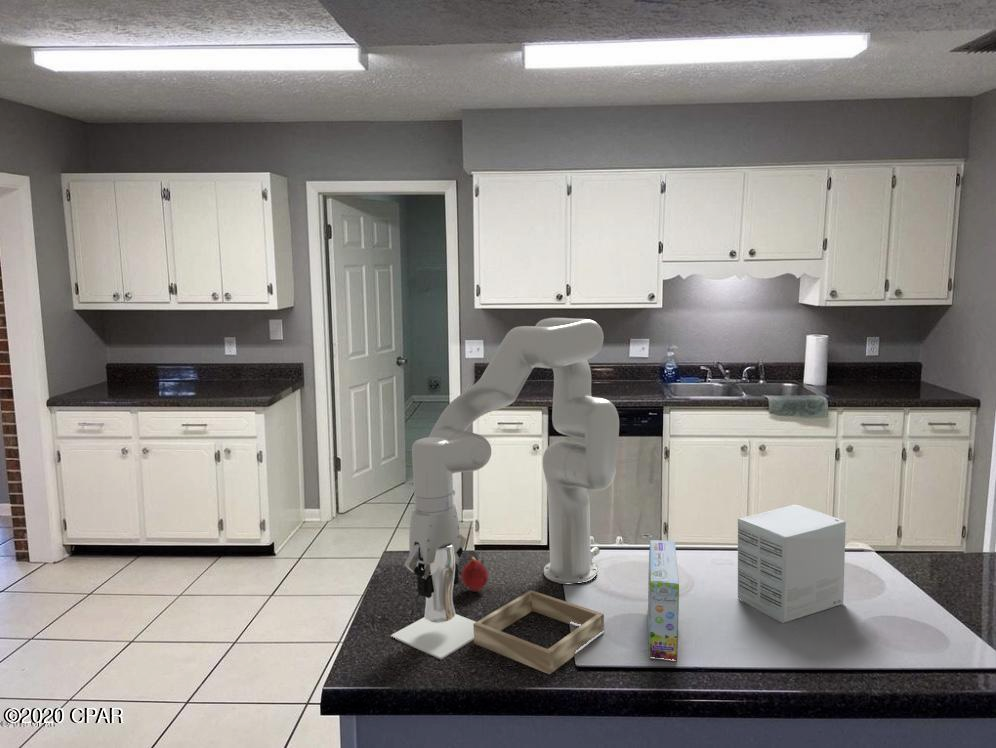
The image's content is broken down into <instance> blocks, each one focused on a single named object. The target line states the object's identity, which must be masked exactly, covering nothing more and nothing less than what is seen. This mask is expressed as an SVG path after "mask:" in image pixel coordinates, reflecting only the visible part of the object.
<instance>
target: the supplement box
mask: <svg viewBox="0 0 996 748" xmlns="http://www.w3.org/2000/svg"><path fill="white" fill-rule="evenodd" d="M846 525H847V523H846V521H845V520H843V519H841V518H837V517H834V516H832V515H829V514H825V513H824V512H820V511H818V510H814V509H811V508H808V507H805V506H803V505H800V504H797V503H793V504H790V505H788V506H784V507H780V508H775V509H772V510H767V511H764V512H760V513H757V514H751V515H748V516H743V517H740V518H737V599H738V598H739V599H741V600H742V601H744V602H745V604H746V603H747V604H746V605H748V604H749V605H748V606H750V605H751V606H750V607H752V606H753V607H754V608H753V607H752V608H753V609H755V608H756V610H757V611H759V612H761V613H763V614H765V615H767V616H768V617H770V618H772V619H774V620H776V621H777V622H779V623H781V624H785V623H787V622H788V623H789V622H790V621H793V620H797V619H800V618H803V617H806V616H810V615H813V614H815V613H816V614H817V613H818V612H822V611H825V610H828V609H833V608H834V607H837V606H840V605H841V606H842V605H843V604H844V590H845V588H844V587H845V586H844V585H845V584H844V583H845V562H846V561H845V558H846V555H845V554H846V551H845V550H846ZM739 599H738V600H739ZM741 600H740V601H741ZM742 601H741V602H742ZM744 602H743V603H744Z"/></svg>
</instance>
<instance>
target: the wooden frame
mask: <svg viewBox="0 0 996 748" xmlns="http://www.w3.org/2000/svg"><path fill="white" fill-rule="evenodd" d="M531 612H534V613H536V614H540V615H542V616H545V617H548V618H551V619H554V620H557V621H560V622H562V623H565V624H567V625H570V624H569V623H570V622H571V621H572V622H574V623H577V624H581V626H580V627H577V628H576V629H574V630H573V631H571V632H570V633H568V634H567V635H566V636H564V637H563V638H561V639H560V640H559V641H557V642H556V643H554V644H553V645H552V646H550V647H548V648H546V647H543V646H541V645H538V644H536V643H532V642H530V641H528V640H525V639H522V638H520V637H517V636H514V635H512V634H509V633H507V632H505V631H503V630H505V629H506V628H508V627H509V626H511V625H512V624H514V623H515V622H517V621H518V620H520V619H521V618H524V617H525V616H527V615H528V614H531ZM604 614H605V613H603V612H599V611H596V610H593V609H589V608H587V607H584V606H581V605H578V604H575V603H571V602H568V601H565V600H562V599H558V597H557V598H556V597H552V596H550V595H547V594H544V593H540V592H538V591H536V590H529V591H526V592H524V593H523V594H521V595H519V596H518V597H517V598H515V599H513V600H511V601H510V602H508V603H506V604H505V605H503V606H500V607H499V608H498V609H496V610H495V611H492V612H491V613H489V614H488V615H485V616H484V617H483V618H481V619H479V620H478V621H475V622H476V623H474V624H473V628H474V640H473V644H475V645H477V646H480V647H482V648H484V649H487V650H489V651H492V652H494V653H497V654H498V655H502V656H504V657H506V658H508V659H512V660H513V661H516V662H517V663H521V664H523V665H525V666H528V667H531V668H534V669H535V670H538V671H540V672H542V673H545V674H548V675H551V674H553V673H554V672H555V671H556V670H558V669H559V668H560V667H562V666H563V665H565V663H567V662H568V661H570V660H571V659H573V657H575V656H574V654H575V652H576V650H578V649H579V648H580V647H581V646H583V645H584V644H586V643H587V642H588V641H589V640H591V639H592V638H594V637H595V636H596V635H598V634H599V633H600V632H602V631H603V630H604V631H605V615H604Z"/></svg>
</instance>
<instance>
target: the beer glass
mask: <svg viewBox="0 0 996 748" xmlns="http://www.w3.org/2000/svg"><path fill="white" fill-rule="evenodd" d="M421 560H423V558H422V557H421ZM424 566H425V565H424V564H422V570H424ZM428 577H429V578H431V590H432V596H431V597H430V598H427V597H425V608H424V617H425V619H426V620H427V621H429V622H433V623H443V622H447V621H450V620H451V619H453V618H454V617H455V614H456V610H455V606H454V599H453V594H454V593H453V591H454V585H455V584H454V578H455V553H454V546H453V543H452V544H451V545H450V546H448V547H446V548H442V549H436V555H435V560H434V562H433V563H432V564H430V572H429V575H428Z"/></svg>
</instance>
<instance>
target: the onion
mask: <svg viewBox="0 0 996 748" xmlns="http://www.w3.org/2000/svg"><path fill="white" fill-rule="evenodd" d="M488 573H489V572H488V570H487V568H486V567H485V565H484V564H483V563H482V562H481V561H479V560H477V559H476V557H474V556H472V557H471V560H470V561H469V562H467V564H466V565H465V566H464V567H463V570H462V573H461V580H462V582H463V584H464V585H465V587H467V588H468V590H471V591H472V592H475V593H476V592H478V591H480V590H481V589H482V588H484V587H485V586H486V585H487V582H488V580H489V579H488V577H489V574H488Z"/></svg>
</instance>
